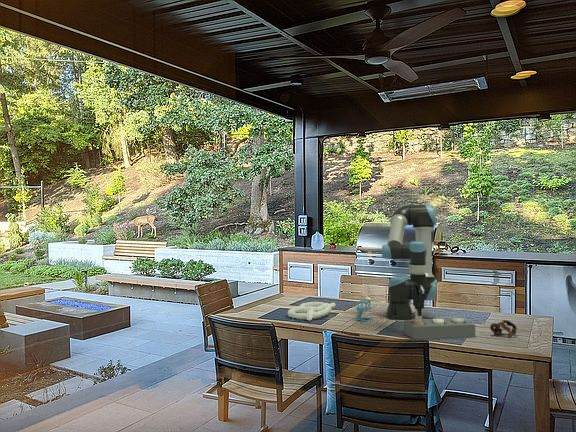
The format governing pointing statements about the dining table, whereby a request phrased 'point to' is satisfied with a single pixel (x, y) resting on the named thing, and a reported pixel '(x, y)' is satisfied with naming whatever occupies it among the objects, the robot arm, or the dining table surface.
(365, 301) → the teal overhanging stand
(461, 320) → the sage button
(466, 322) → the button console
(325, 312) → the pretzel
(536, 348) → the dining table surface
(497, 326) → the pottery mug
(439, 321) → the cream button
